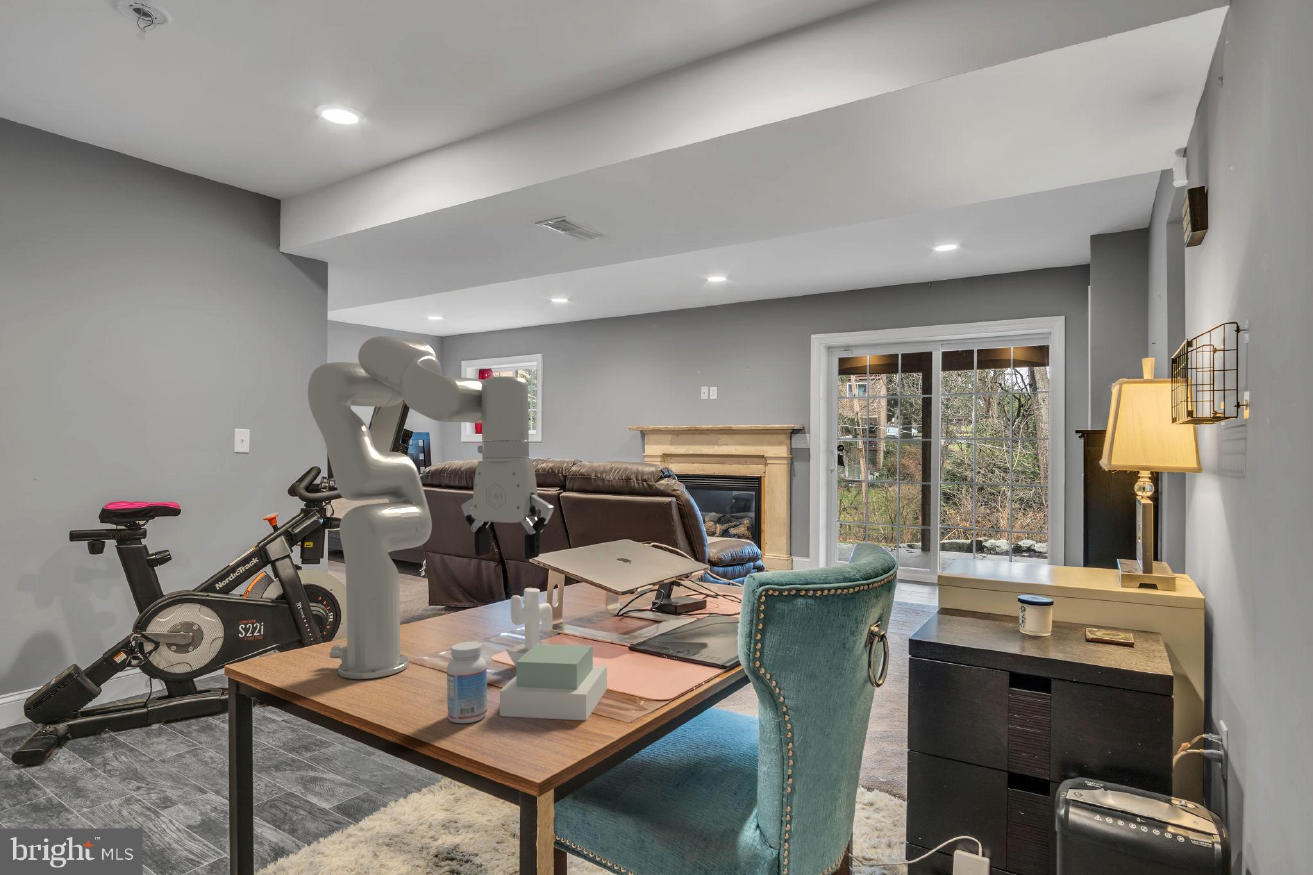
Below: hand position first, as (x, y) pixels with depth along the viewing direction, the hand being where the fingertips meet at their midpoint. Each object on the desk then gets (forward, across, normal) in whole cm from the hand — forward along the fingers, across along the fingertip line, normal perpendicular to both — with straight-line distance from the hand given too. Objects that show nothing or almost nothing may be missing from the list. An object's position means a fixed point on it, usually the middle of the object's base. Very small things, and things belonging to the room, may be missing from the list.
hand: (507, 556), depth 115 cm
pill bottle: (+25, -3, -6) cm, 26 cm away
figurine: (+25, -7, +18) cm, 32 cm away
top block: (+20, +6, +4) cm, 22 cm away
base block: (+24, +6, +4) cm, 26 cm away
